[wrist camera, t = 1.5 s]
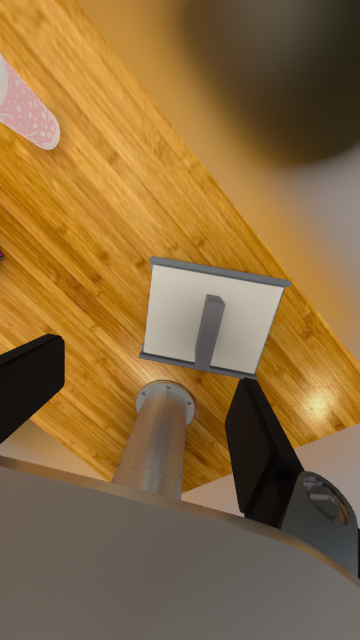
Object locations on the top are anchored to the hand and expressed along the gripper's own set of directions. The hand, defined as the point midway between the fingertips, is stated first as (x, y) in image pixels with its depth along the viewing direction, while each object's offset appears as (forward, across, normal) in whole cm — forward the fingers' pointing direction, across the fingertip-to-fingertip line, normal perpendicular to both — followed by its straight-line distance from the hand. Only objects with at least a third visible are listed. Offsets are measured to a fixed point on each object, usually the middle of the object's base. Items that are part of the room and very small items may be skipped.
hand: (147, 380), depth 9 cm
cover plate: (+17, -4, +1) cm, 18 cm away
